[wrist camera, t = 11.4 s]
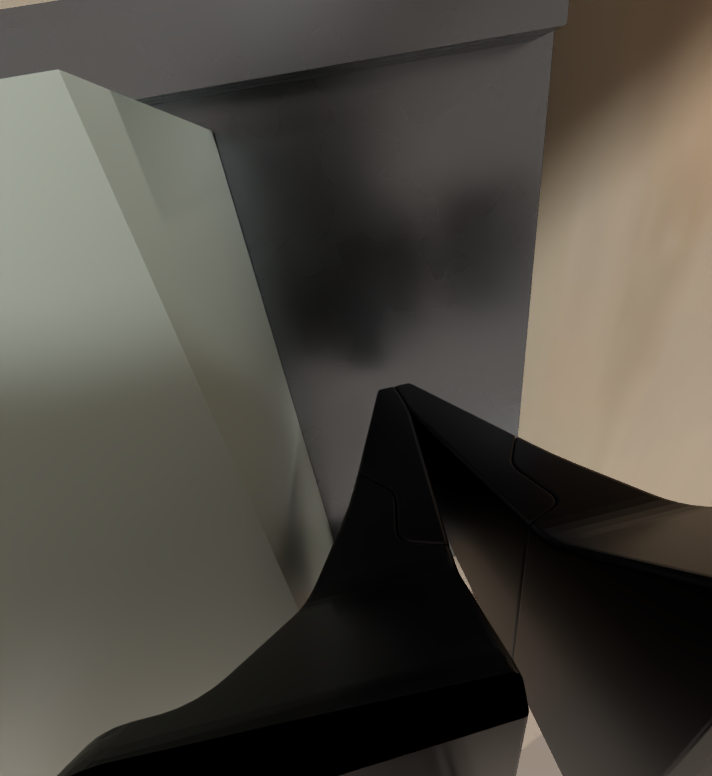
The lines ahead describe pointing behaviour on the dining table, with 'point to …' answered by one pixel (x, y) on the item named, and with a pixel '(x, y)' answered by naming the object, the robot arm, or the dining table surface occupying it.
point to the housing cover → (133, 425)
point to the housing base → (351, 180)
